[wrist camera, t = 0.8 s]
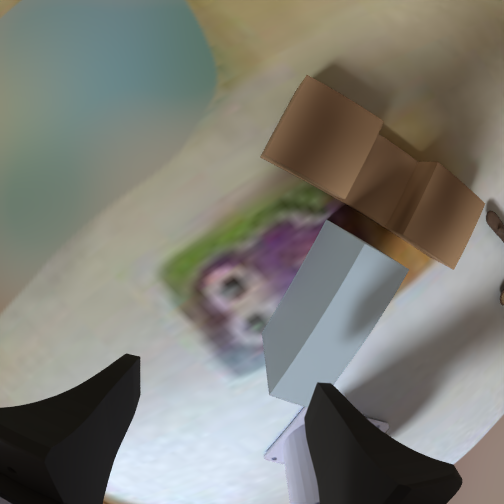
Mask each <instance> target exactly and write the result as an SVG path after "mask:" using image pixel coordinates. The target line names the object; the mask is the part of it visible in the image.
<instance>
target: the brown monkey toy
mask: <svg viewBox="0 0 504 504" xmlns="http://www.w3.org/2000/svg"><path fill="white" fill-rule="evenodd" d="M486 221H487V224H488V225H489V226H490V227H491V228H492V230H493V231H494V232H495V233H496V234H497V235H498V236H499V237H500V238H501V240H502V241H503V242H504V224H503V223H502V222H501V220H500V219H499V217H498V216H497V214H496V213H495V212H493V211H488V212H487V215H486ZM500 303H501V305H504V290H503V291H502V293H501V296H500Z"/></svg>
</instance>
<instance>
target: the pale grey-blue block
mask: <svg viewBox="0 0 504 504" xmlns="http://www.w3.org/2000/svg"><path fill="white" fill-rule="evenodd" d="M408 271H409V269H407V268H406V267H404V266H403V265H401V264H400V263H398V262H397V261H395V260H393V259H392V258H390V257H389V256H387V255H386V254H384V253H382V252H381V251H379V250H378V249H376V248H375V247H373V246H371V245H370V244H368V243H367V242H365V241H363V240H362V239H360V238H358V237H356V236H355V235H353V234H351V233H350V232H348V231H346V230H344V229H342V228H341V227H339V226H337V225H335V224H334V223H332V222H330V221H328V220H326V221H325V223H324V225H323V227H322V229H321V231H320V233H319V234H318V236H317V238H316V240H315V242H314V243H313V245H312V247H311V249H310V251H309V252H308V254H307V256H306V258H305V260H304V261H303V263H302V265H301V267H300V269H299V270H298V272H297V274H296V276H295V277H294V279H293V281H292V283H291V284H290V286H289V288H288V290H287V291H286V293H285V295H284V296H283V298H282V300H281V302H280V303H279V305H278V307H277V308H276V310H275V312H274V314H273V315H272V317H271V319H270V320H269V322H268V324H267V325H266V327H265V329H264V330H263V332H262V338H263V347H264V355H265V363H266V372H267V380H268V388H269V395H270V396H273V397H276V398H279V399H282V400H285V401H288V402H291V403H294V404H298V405H301V406H304V407H307V408H308V406H309V403H310V401H311V398H312V395H313V392H314V390H315V387H316V384H317V382H319V383H331V384H332V385H333V384H334V383H335V382H336V381H337V379H338V378H339V377H340V375H341V374H342V372H343V371H344V370H345V368H346V367H347V366H348V364H349V363H350V361H351V360H352V359H353V357H354V356H355V354H356V353H357V352H358V350H359V349H360V347H361V346H362V344H363V343H364V341H365V340H366V338H367V337H368V336H369V334H370V333H371V331H372V330H373V328H374V326H375V325H376V323H377V322H378V320H379V319H380V317H381V316H382V314H383V312H384V311H385V309H386V308H387V306H388V304H389V303H390V301H391V300H392V298H393V296H394V295H395V293H396V291H397V290H398V288H399V286H400V285H401V283H402V281H403V279H404V278H405V276H406V274H407V272H408Z"/></svg>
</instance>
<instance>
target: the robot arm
mask: <svg viewBox="0 0 504 504" xmlns="http://www.w3.org/2000/svg"><path fill="white" fill-rule="evenodd" d="M139 398H140V357H139V356H135V355H130V354H125V355H123V356H122V357H120V358H119V359H118V360H116V361H115V362H113V363H112V364H111V365H109V366H108V367H107V368H105V369H104V370H102V371H101V372H99V373H98V374H96V375H95V376H93V377H92V378H90V379H88V380H87V381H85V382H83V383H82V384H80V385H78V386H76V387H74V388H72V389H70V390H68V391H66V392H64V393H61V394H59V395H56V396H53V397H50V398H47V399H44V400H41V401H38V402H34V403H30V404H26V405H20V406H14V407H5V408H0V504H103V499H104V495H105V491H106V487H107V483H108V479H109V476H110V472H111V469H112V466H113V462H114V459H115V457H116V454H117V452H118V449H119V447H120V445H121V443H122V441H123V438H124V436H125V434H126V432H127V430H128V428H129V425H130V423H131V421H132V419H133V417H134V414H135V411H136V408H137V405H138V401H139ZM388 429H389V425H388V423H385V422H381V421H377V420H373V419H369V418H366V417H365V416H363V415H362V414H361V413H360V412H359V411H358V410H357V409H356V408H355V407H354V406H353V405H352V404H351V403H350V402H349V401H348V400H347V399H346V398H345V397H344V396H343V395H342V394H341V393H340V392H339V391H338V390H337V389H336V388H335V387H334V386H333V385H332V384H331V383H319V382H317V384H316V387H315V390H314V392H313V395H312V398H311V401H310V403H309V406H308V408H307V407H304V408H303V409H302V411H301V412H300V413H299V414H298V416H297V417H296V418H295V419H294V420H293V422H292V423H291V424H290V425H289V426H288V428H287V429H286V430H285V431H284V432H283V433H282V435H281V436H280V437H279V438H278V439H277V440H276V442H275V443H274V444H273V445H272V446H271V447H270V448H269V449H268V451H267V452H266V453H265V454H264V459H265V460H268V461H272V462H277V463H281V464H285V470H286V478H287V485H288V492H289V499H290V504H447V502H448V501H449V500H450V499H451V498H452V497H453V496H454V495H455V494H456V493H457V491H458V490H459V489H460V487H461V485H462V478H461V476H460V475H459V473H458V471H457V470H456V468H455V466H454V465H453V464H449V463H446V462H442V461H439V460H436V459H433V458H430V457H428V456H425V455H423V454H421V453H418V452H416V451H414V450H412V449H410V448H408V447H406V446H405V445H403V444H401V443H399V442H398V441H396V440H394V439H393V438H391V437H390V436H388V435H387V434H386V433H385V432H386V431H387V430H388Z"/></svg>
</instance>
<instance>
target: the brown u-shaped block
mask: <svg viewBox="0 0 504 504" xmlns="http://www.w3.org/2000/svg"><path fill="white" fill-rule="evenodd" d="M383 123H384V121H383V120H381V119H380V118H378V117H377V116H375V115H374V114H372V113H371V112H369V111H368V110H366V109H364V108H363V107H361V106H360V105H358V104H357V103H355V102H353V101H352V100H350V99H348V98H347V97H345V96H343V95H342V94H340V93H338V92H337V91H335V90H333V89H332V88H330V87H328V86H326V85H325V84H323V83H321V82H319V81H317V80H316V79H314V78H312V77H310V76H308V75H307V76H306V77H305V78H304V80H303V81H302V83H301V84H300V86H299V87H298V88H297V90H296V92H295V93H294V95H293V97H292V99H291V101H290V103H289V104H288V106H287V108H286V110H285V112H284V114H283V115H282V117H281V119H280V121H279V123H278V125H277V127H276V128H275V130H274V132H273V134H272V136H271V138H270V140H269V141H268V143H267V145H266V147H265V149H264V151H263V153H262V155H261V158H263V159H265V160H266V161H268V162H270V163H272V164H274V165H276V166H278V167H280V168H282V169H284V170H286V171H287V172H289V173H291V174H293V175H295V176H297V177H299V178H300V179H302V180H304V181H306V182H308V183H310V184H311V185H313V186H315V187H317V188H319V189H320V190H322V191H324V192H326V193H327V194H329V195H331V196H333V197H334V198H336V199H338V200H340V201H341V202H343V203H345V204H346V205H348V206H350V207H351V208H353V209H355V210H357V211H358V212H360V213H362V214H363V215H365V216H366V217H368V218H370V219H371V220H373V221H375V222H376V223H378V224H379V225H381V226H383V227H384V228H386V229H387V230H389V231H391V232H392V233H394V234H395V235H397V236H398V237H400V238H402V239H403V240H405V241H406V242H408V243H409V244H411V245H412V246H414V247H415V248H417V249H418V250H420V251H421V252H423V253H424V254H426V255H427V256H429V257H431V258H433V259H435V260H437V261H438V262H440V263H442V264H444V265H446V266H448V267H450V268H451V269H453V270H454V268H455V266H456V265H457V263H458V261H459V259H460V257H461V255H462V253H463V251H464V249H465V247H466V245H467V243H468V241H469V239H470V237H471V235H472V232H473V230H474V228H475V226H476V224H477V221H478V219H479V217H480V215H481V212H482V210H483V208H484V205H485V203H484V202H483V201H482V200H481V199H480V198H479V197H478V196H477V195H476V194H474V193H473V192H472V191H471V190H470V189H469V188H468V187H467V186H466V185H465V184H463V183H462V182H461V181H460V180H459V179H458V178H457V177H455V176H454V175H453V174H452V173H451V172H450V171H448V170H447V169H446V168H445V167H444V166H442V165H441V164H440V163H439V162H418V161H416V160H415V159H414V158H412V157H411V156H410V155H408V154H407V153H405V152H404V151H403V150H401V149H400V148H399V147H397V146H396V145H394V144H393V143H391V142H390V141H389V140H387V139H386V138H384V137H383V136H381V135H380V134H378V133H379V131H380V129H381V127H382V125H383Z"/></svg>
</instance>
